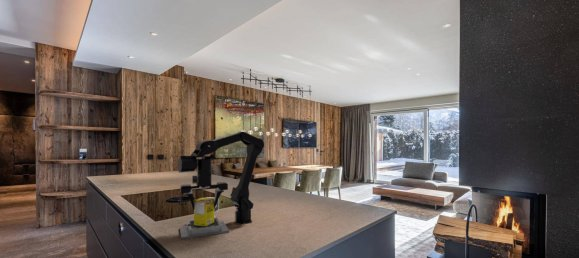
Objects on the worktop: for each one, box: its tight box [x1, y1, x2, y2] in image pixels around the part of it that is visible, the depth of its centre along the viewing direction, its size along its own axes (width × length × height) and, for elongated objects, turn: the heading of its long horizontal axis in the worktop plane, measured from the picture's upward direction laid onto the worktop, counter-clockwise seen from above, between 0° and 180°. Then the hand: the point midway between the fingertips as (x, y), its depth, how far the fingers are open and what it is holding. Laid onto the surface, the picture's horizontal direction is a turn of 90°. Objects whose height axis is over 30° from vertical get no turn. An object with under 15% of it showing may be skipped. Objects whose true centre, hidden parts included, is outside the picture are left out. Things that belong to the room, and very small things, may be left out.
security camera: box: [205, 196, 220, 218], centre depth 124 cm, size 6×7×10 cm
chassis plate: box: [179, 217, 230, 240], centre depth 109 cm, size 18×14×3 cm
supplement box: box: [193, 197, 215, 228], centre depth 110 cm, size 6×6×11 cm
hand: (204, 208), depth 110 cm, fingers closed on supplement box, 8 cm apart
